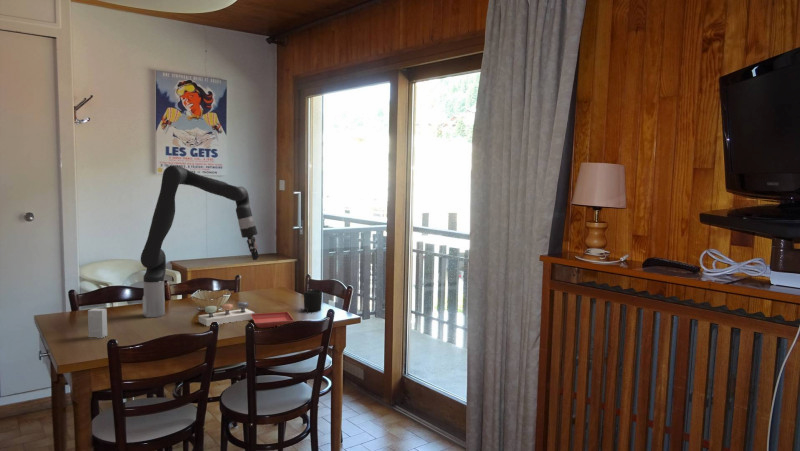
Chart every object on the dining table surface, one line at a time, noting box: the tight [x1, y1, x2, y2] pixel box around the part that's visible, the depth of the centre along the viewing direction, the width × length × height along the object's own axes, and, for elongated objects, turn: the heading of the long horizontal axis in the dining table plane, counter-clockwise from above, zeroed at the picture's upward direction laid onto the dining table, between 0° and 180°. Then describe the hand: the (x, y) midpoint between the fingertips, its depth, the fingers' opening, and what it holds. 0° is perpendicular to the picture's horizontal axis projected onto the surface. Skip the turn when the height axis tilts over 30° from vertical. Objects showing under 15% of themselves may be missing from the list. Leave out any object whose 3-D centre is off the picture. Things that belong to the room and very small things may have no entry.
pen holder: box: [303, 289, 323, 313], centre depth 292 cm, size 9×9×10 cm
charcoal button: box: [237, 301, 249, 313], centre depth 274 cm, size 5×5×5 cm
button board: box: [198, 308, 256, 327], centre depth 269 cm, size 24×10×3 cm, turn 130°
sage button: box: [204, 305, 218, 317], centre depth 263 cm, size 5×5×5 cm
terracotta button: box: [221, 303, 234, 315], centre depth 268 cm, size 5×5×5 cm
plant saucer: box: [251, 311, 295, 329], centre depth 266 cm, size 18×18×3 cm
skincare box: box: [87, 308, 108, 339], centre depth 237 cm, size 6×4×12 cm
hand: (256, 258), depth 273 cm, fingers open, 8 cm apart
